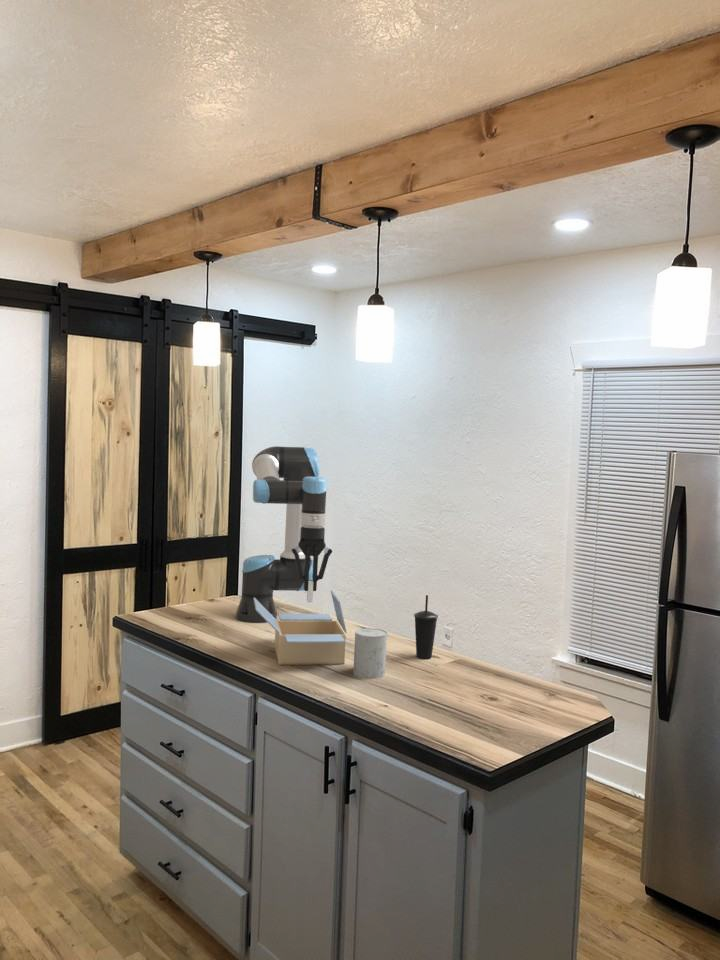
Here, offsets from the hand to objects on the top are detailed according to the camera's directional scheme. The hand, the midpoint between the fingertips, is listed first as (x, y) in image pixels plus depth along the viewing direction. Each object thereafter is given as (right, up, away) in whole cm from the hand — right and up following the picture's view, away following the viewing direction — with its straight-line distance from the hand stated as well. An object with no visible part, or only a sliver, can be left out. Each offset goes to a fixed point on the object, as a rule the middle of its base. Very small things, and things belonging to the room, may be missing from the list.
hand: (309, 601), depth 239 cm
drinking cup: (+36, -19, +6) cm, 41 cm away
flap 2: (+9, -3, +2) cm, 10 cm away
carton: (0, -17, +1) cm, 17 cm away
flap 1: (-13, -4, -2) cm, 14 cm away
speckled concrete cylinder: (+18, -19, -14) cm, 30 cm away
